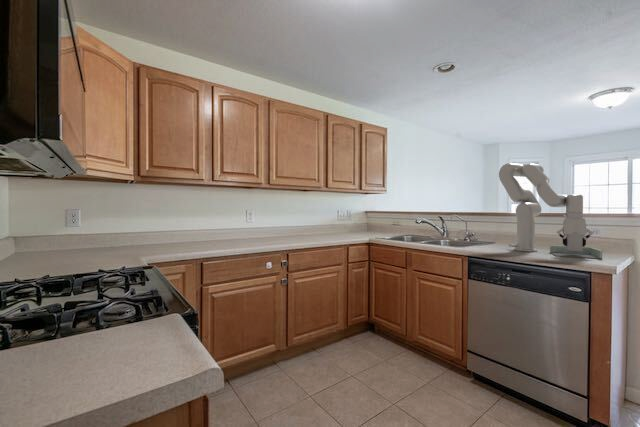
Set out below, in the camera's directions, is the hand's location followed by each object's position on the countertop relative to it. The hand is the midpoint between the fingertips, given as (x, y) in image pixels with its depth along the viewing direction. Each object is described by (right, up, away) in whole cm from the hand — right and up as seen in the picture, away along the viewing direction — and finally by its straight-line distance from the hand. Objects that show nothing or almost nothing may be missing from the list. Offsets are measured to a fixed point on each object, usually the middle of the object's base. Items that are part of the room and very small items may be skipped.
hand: (574, 245), depth 172 cm
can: (0, -4, 0) cm, 4 cm away
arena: (+1, -6, +1) cm, 6 cm away
